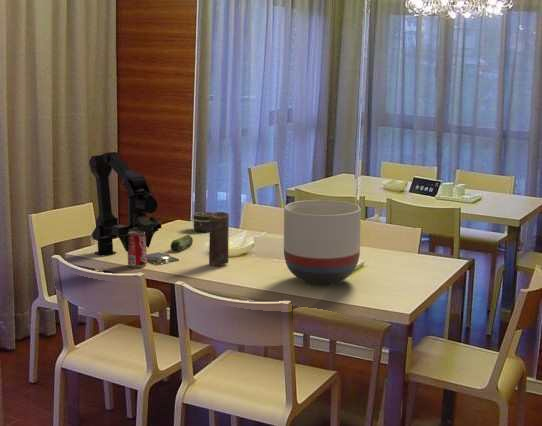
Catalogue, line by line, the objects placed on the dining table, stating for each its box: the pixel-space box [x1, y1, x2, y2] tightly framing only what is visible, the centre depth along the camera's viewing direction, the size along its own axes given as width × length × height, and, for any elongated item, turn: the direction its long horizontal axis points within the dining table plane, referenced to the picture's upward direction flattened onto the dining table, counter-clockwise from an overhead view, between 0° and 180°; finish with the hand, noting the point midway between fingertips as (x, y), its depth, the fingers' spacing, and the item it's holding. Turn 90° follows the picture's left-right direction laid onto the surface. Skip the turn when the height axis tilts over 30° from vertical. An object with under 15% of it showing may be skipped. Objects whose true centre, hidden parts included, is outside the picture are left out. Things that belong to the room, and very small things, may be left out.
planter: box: [283, 199, 362, 286], centre depth 290 cm, size 27×27×27 cm
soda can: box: [127, 230, 148, 269], centre depth 311 cm, size 7×7×13 cm
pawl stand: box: [147, 251, 180, 265], centre depth 322 cm, size 14×10×1 cm
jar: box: [192, 211, 213, 234], centre depth 369 cm, size 10×10×8 cm
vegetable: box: [170, 234, 194, 253], centre depth 338 cm, size 14×5×5 cm, turn 158°
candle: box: [208, 211, 230, 267], centre depth 312 cm, size 8×7×20 cm
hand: (137, 249), depth 311 cm, fingers open, 9 cm apart
